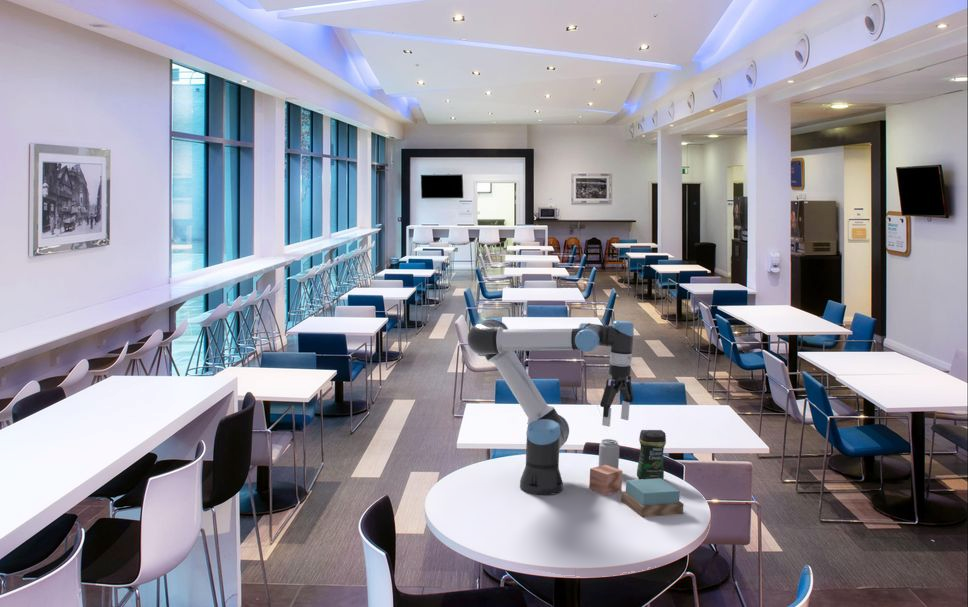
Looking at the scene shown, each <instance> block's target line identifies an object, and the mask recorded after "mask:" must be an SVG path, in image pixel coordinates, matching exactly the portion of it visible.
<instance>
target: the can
mask: <svg viewBox="0 0 968 607" xmlns="http://www.w3.org/2000/svg"><path fill="white" fill-rule="evenodd" d="M598 446H599V448H598V466H602V465H608V466H611V467H614V468H616V469H619V465H620V464H619V461H620V444H619V441H618V440H615V439H609V438H607V439H606V438H605V439H602V440H601V442H600V443H599V445H598Z"/></svg>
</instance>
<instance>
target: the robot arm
mask: <svg viewBox="0 0 968 607" xmlns="http://www.w3.org/2000/svg"><path fill="white" fill-rule="evenodd" d="M634 329H635V328H634V323H633V322H631V321H629V320H628V321H627V320H614V321H612V324H611V325H606V324H605V325H604V324H596V323H589V322H587V323H583V322H582V323H580V324H579V326H578V328H577V327H576V328H522V329H521V328H520V329H519V328H518V329H517V328H516V329H515V328H514V329H509V328H508V326H507V325H506V324H505V323H504V322H503V321H501V320H498V319H486V320H484V321H481V322H479V323H477V324H474V325H473V326H472V327H471V328H470V330H469V331H468V333H467V344H468V346H469V349H471V351H472V352H474V353H476V354H478V355H483V356H484V357H485V360H487V362H489V363H492V364H494V366H495V367H496V369H497V371H498V372H499V373H500V375H501V377H502V378H503V380H504V381H505V383H506V385H507V386H508V388H509V389H510V391H511V392H512V395H513V396H514V397H515V399H516V400H517V402H518V404H519V405H520V407H521V408H522V411H523V412H524V414H525V416H527V423H526V424H527V428H526V433H525V434H526V443H525V444H526V445H525V446H526V447H525V451H526V452H525V467H524V470H523V472H522V475H521V478H520V480H519V488H520V489H521V490H522V491H523V492H526V493H527V494H528V493H529V494H533V495H538V496H539V495H541V496H545V495H546V496H547V495H548V496H549V495H555V494H559V493H561V492H562V491H563V488H564V487H563V485H564V482H563V478H562V476H561V470H560V469H559V468H560V467H559V464H560V449H561V448H562V447H563V446H564V445H565V444H566V442H567V440H568V438H569V436H570V426H569V423H568V421H567V420H566V418H565V417H563V416H562V415H561V414H558V412H557V410H556V409H555V407H554V406H550V405H548V404H547V402H546V401H545V398H544V397H543V396H542V394H541V393H540V391H539V390H538V388H537V386H536V384H535V383H534V382H533V380H532V378H531V376H530V375H529V374H528V372H527V370H526V369H525V367H524V365H523V363H522V362H521V361H520V359H519V357H518V356H517V354H516V353H515V351H516V352H517V351H581V352H584V353H585V352H592V351H594V350H595V349H596V348H597V347H598V346H599V347H607V348H608V347H610V353H609V354H610V357H609V366H608V368H609V369H608V375H610V376H611V379H608V378H607V379H606V383H605V388H604V390H603V393H602V397H601V400H600V403H599V406H600V407H602V408H603V412H602V422H601V425H602V426H604V427H611V420H612V419H611V418H612V407H611V406H612V404H613V402H614V400H615V397H616V395H617V394H618V393H619V392H620V394H621V397H622V398H623V401H621V412H620V419H621V420H625V421H629V418H630V417H629V415H630V406H631V404H630V403H633V402H634V392H633V386H632V376H631V369H632V366H631V364H632V359H633V354H632V353H633V348H634V347H633V344H634V335H635V334H634Z"/></svg>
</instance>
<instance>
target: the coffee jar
mask: <svg viewBox="0 0 968 607" xmlns="http://www.w3.org/2000/svg"><path fill="white" fill-rule="evenodd" d="M666 437H667V435H666V432H665V431H663V430H662V429H642V430H640V433H639V437H638V438H639V439H638V440H639V444H640V452H639V458H638V462H637V463H638V465H637V469H636V476H637V478H638V480H641V479H658V478H661V479H663V480H664V476H665V474H664V472H665V470H664V450H665V446H666V443H667V438H666Z"/></svg>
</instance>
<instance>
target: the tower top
mask: <svg viewBox="0 0 968 607" xmlns="http://www.w3.org/2000/svg"><path fill="white" fill-rule="evenodd" d="M625 491H626V493H628V494H629V495H630V496H632V497H633V498H634V499H636V500H637V501H638V502H639V503H641V504H642V505H655V504H669V503H679V501H680V496H681V495H680V494H681V493H680V492H681V490H680V489H677V488H676V487H675V486H673V485H672V484H671V483H669V482H667V481H666V480H664V479H661V478H658V479H642V480H641V479H630V480H625Z"/></svg>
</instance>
